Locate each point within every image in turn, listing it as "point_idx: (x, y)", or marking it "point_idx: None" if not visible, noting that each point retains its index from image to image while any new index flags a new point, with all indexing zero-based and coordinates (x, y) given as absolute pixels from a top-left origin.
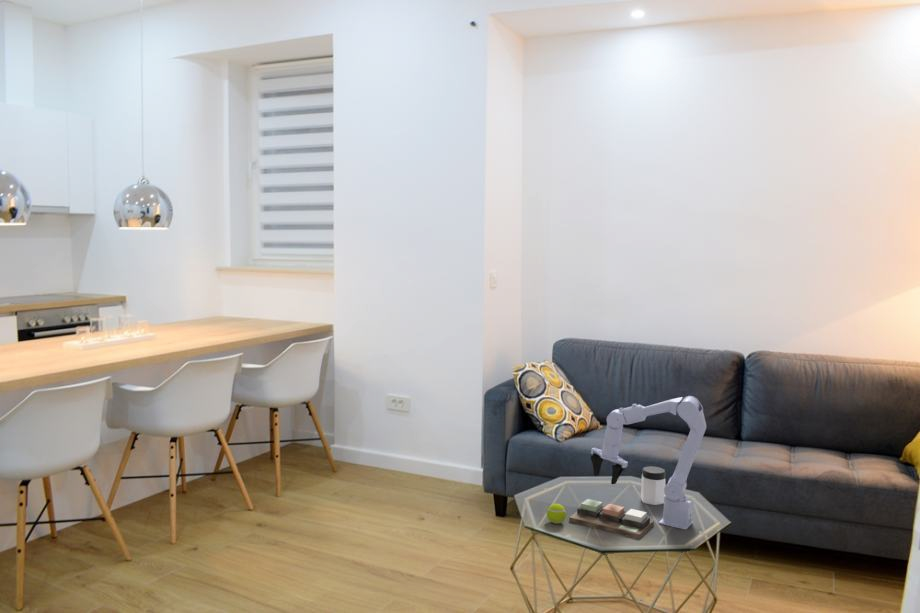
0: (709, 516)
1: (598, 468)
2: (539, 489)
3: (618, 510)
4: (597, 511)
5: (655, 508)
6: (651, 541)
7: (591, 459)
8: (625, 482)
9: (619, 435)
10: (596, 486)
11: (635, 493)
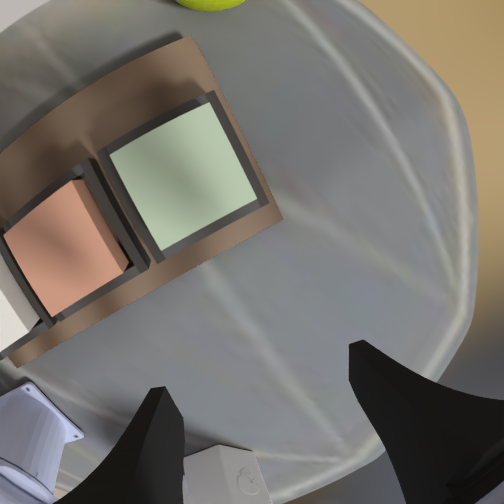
0: None
1: (379, 413)
2: (473, 195)
3: (19, 253)
4: (115, 168)
5: None
6: None
7: (497, 403)
8: (362, 449)
9: None
10: None
11: (293, 451)
